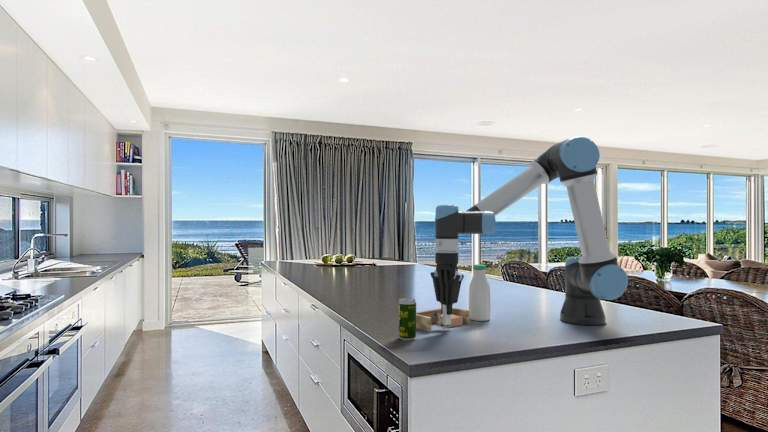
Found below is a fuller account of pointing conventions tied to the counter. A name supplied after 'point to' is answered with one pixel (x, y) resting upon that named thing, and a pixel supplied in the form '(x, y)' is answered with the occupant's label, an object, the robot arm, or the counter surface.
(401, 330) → the beer can
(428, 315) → the frame
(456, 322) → the tile
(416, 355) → the counter surface
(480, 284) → the milk bottle
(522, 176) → the robot arm
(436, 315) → the vase
